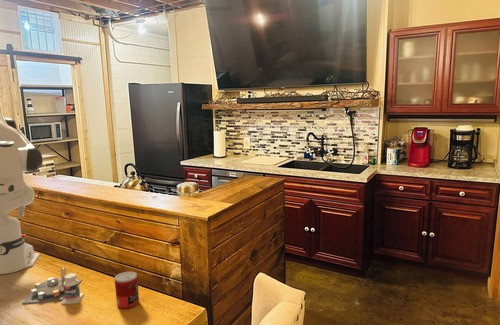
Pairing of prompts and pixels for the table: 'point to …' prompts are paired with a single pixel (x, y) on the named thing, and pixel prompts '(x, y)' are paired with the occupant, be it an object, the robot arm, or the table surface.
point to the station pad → (72, 300)
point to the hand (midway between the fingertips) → (14, 220)
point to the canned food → (126, 290)
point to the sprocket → (50, 286)
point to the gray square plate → (47, 299)
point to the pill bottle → (71, 287)
